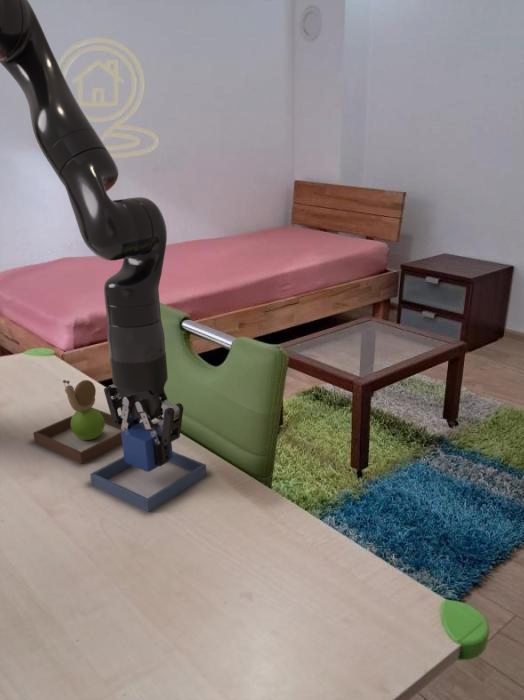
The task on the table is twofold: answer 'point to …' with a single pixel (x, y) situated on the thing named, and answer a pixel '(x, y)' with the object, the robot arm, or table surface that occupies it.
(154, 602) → the table surface
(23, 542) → the table surface
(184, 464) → the blue tray
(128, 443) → the blue block
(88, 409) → the snail figurine
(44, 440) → the brown tray
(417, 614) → the table surface
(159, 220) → the robot arm
